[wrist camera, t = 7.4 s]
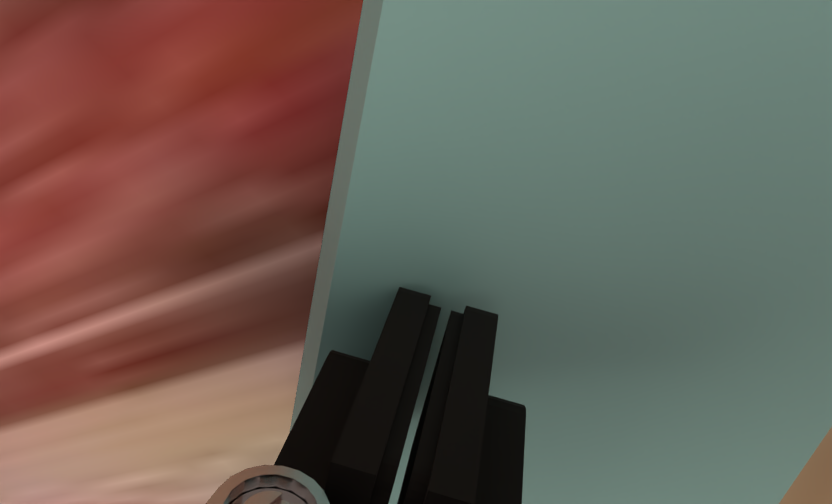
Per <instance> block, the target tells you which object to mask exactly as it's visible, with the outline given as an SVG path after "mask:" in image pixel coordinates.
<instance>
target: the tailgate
mask: <svg viewBox="0 0 832 504" xmlns="http://www.w3.org/2000/svg"><path fill="white" fill-rule="evenodd" d="M399 287H403V288H406V289H410V290H413V291H417V292H420V293H424V294H427V295H431V298H430V302H429V304H431V305H434V306H438V307H441V311H440V315H439V318H438V322H437V326H436V330H435V333H434V337H433V341H432V345H431V348H430V352H429V356H428V359H427V363H426V367H425V371H424V374H423V378H422V382H421V385H420V389H419V393H418V397H417V400H416V404H415V408H414V412H413V415H412V419H411V423H410V426H409V430H408V434H407V438H406V441H405V445H404V449H403V452H402V456H401V460H400V464H399V467H398V471H397V475H396V478H395V482H394V485H393V489H392V493H391V496H390V500H389V503H388V504H397V502H398V499H399V495H400V491H401V487H402V483H403V479H404V475H405V471H406V467H407V463H408V459H409V455H410V451H411V448H412V444H413V440H414V437H415V433H416V429H417V426H418V423H419V419H420V416H421V412H422V409H423V405H424V402H425V398H426V395H427V392H428V388H429V385H430V381H431V378H432V374H433V371H434V368H435V364H436V361H437V357H438V354H439V350H440V347H441V343H442V340H443V337H444V333H445V330H446V326H447V323H448V319H449V316H450V313H451V310H452V311H455V312H459V313H464V310H465V307H466V305H467V306H470V307H474V308H477V309H481V310H484V311H488V312H491V313H495V314H498V324H497V332H496V340H495V348H494V356H493V363H492V371H491V379H490V387H489V395H491V396H494V397H498V398H501V399H505V400H508V401H512V402H515V403H519V404H522V405H525V407H526V427H525V447H524V468H523V489H522V504H779V503H780V501H781V500H782V498H783V497H784V495H785V494H786V492H787V491H788V489H789V488H790V487H791V485H792V484H793V482H794V481H795V479H796V478H797V476H798V475H799V473H800V472H801V471H802V469H803V468H804V466H805V465H806V463H807V462H808V460H809V459H810V457H811V456H812V454H813V453H814V452H815V450H816V449H817V447H818V446H819V444H820V443H821V441H822V440H823V438H824V437H825V436H826V434H827V433H828V431H829V430H830V428H831V427H832V0H363V5H362V11H361V17H360V23H359V29H358V35H357V41H356V47H355V52H354V58H353V64H352V70H351V76H350V82H349V88H348V93H347V99H346V105H345V111H344V117H343V123H342V129H341V134H340V140H339V146H338V152H337V158H336V164H335V170H334V175H333V181H332V187H331V193H330V199H329V205H328V211H327V217H326V222H325V228H324V234H323V240H322V246H321V252H320V258H319V263H318V269H317V275H316V281H315V287H314V293H313V299H312V304H311V310H310V316H309V322H308V328H307V334H306V340H305V346H304V351H303V357H302V363H301V369H300V375H299V381H298V387H297V392H296V398H295V404H294V410H293V416H292V422H291V428H290V431H291V429H292V427H293V425H294V423H295V421H296V419H297V417H298V415H299V413H300V411H301V409H302V407H303V405H304V403H305V401H306V399H307V397H308V395H309V393H310V390H311V388H312V386H313V384H314V382H315V380H316V378H317V376H318V374H319V372H320V370H321V368H322V366H323V364H324V362H325V360H326V358H327V356H328V354H329V352H330V351H331V350H334V351H338V352H341V353H345V354H348V355H352V356H355V357H359V358H362V359H366V360H369V361H370V360H371V358H372V355H373V353H374V350H375V348H376V345H377V342H378V340H379V337H380V335H381V332H382V330H383V327H384V325H385V322H386V319H387V317H388V314H389V312H390V309H391V307H392V304H393V302H394V299H395V296H396V294H397V291H398V289H399Z"/></svg>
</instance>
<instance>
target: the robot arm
mask: <svg viewBox="0 0 832 504" xmlns="http://www.w3.org/2000/svg"><path fill="white" fill-rule="evenodd" d="M430 298H431V295H427V294H424V293H420V292H417V291H413V290H410V289H406V288H403V287H399V289H398V291H397V294H396V296H395V299H394V302H393V304H392V307H391V309H390V312H389V314H388V317H387V319H386V322H385V325H384V327H383V330H382V332H381V335H380V337H379V340H378V342H377V345H376V348H375V350H374V353H373V355H372V358H371V360H370V361H369V360H366V359H362V358H359V357H355V356H352V355H348V354H345V353H341V352H338V351H334V350H331V351H330V352H329V354H328V356H327V358H326V360H325V362H324V364H323V366H322V368H321V370H320V372H319V374H318V376H317V378H316V380H315V382H314V384H313V386H312V388H311V390H310V393H309V395H308V397H307V399H306V401H305V403H304V405H303V407H302V409H301V411H300V413H299V415H298V417H297V419H296V421H295V423H294V425H293V427H292V429H291V431H290V433H289V435H288V437H287V440H286V442H285V444H284V446H283V448H282V450H281V452H280V454H279V456H278V458H277V460H276V462H275V464H274V465H262V466H257V467H252V468H247V469H245V470H243V471H241V472H239V473H237V474H235V475H233V476H231V477H230V478H229V479H227V480H226V481H225V482H224V483H223V484H222V485H221V486H220V487H219V488H218V489H217V490H216V491H215V493H214V494H213V495H212V496H211V498H210V499H209V500H208V501H207V503H206V504H388V503H389V500H390V496H391V493H392V489H393V485H394V482H395V478H396V475H397V471H398V467H399V464H400V460H401V456H402V452H403V449H404V445H405V441H406V438H407V434H408V430H409V426H410V423H411V419H412V415H413V412H414V408H415V404H416V400H417V397H418V393H419V389H420V385H421V382H422V378H423V374H424V371H425V367H426V363H427V359H428V356H429V352H430V348H431V345H432V341H433V337H434V333H435V330H436V326H437V322H438V318H439V315H440V311H441V307H438V306H434V305H431V304H429V302H430ZM497 324H498V314H495V313H491V312H488V311H484V310H481V309H477V308H474V307H470V306H467V305H466V307H465V310H464V313H459V312H455V311H452V310H451V313H450V316H449V319H448V323H447V326H446V330H445V333H444V337H443V340H442V343H441V347H440V350H439V354H438V357H437V361H436V364H435V368H434V371H433V374H432V378H431V381H430V385H429V388H428V392H427V395H426V398H425V402H424V405H423V409H422V412H421V416H420V419H419V423H418V426H417V429H416V433H415V437H414V440H413V444H412V448H411V451H410V455H409V459H408V463H407V467H406V471H405V475H404V479H403V483H402V487H401V491H400V495H399V499H398V502H397V504H522V489H523V468H524V447H525V427H526V407H525V405H522V404H519V403H515V402H512V401H508V400H505V399H501V398H498V397H494V396H491V395H489V387H490V379H491V371H492V363H493V356H494V348H495V340H496V332H497Z"/></svg>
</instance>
